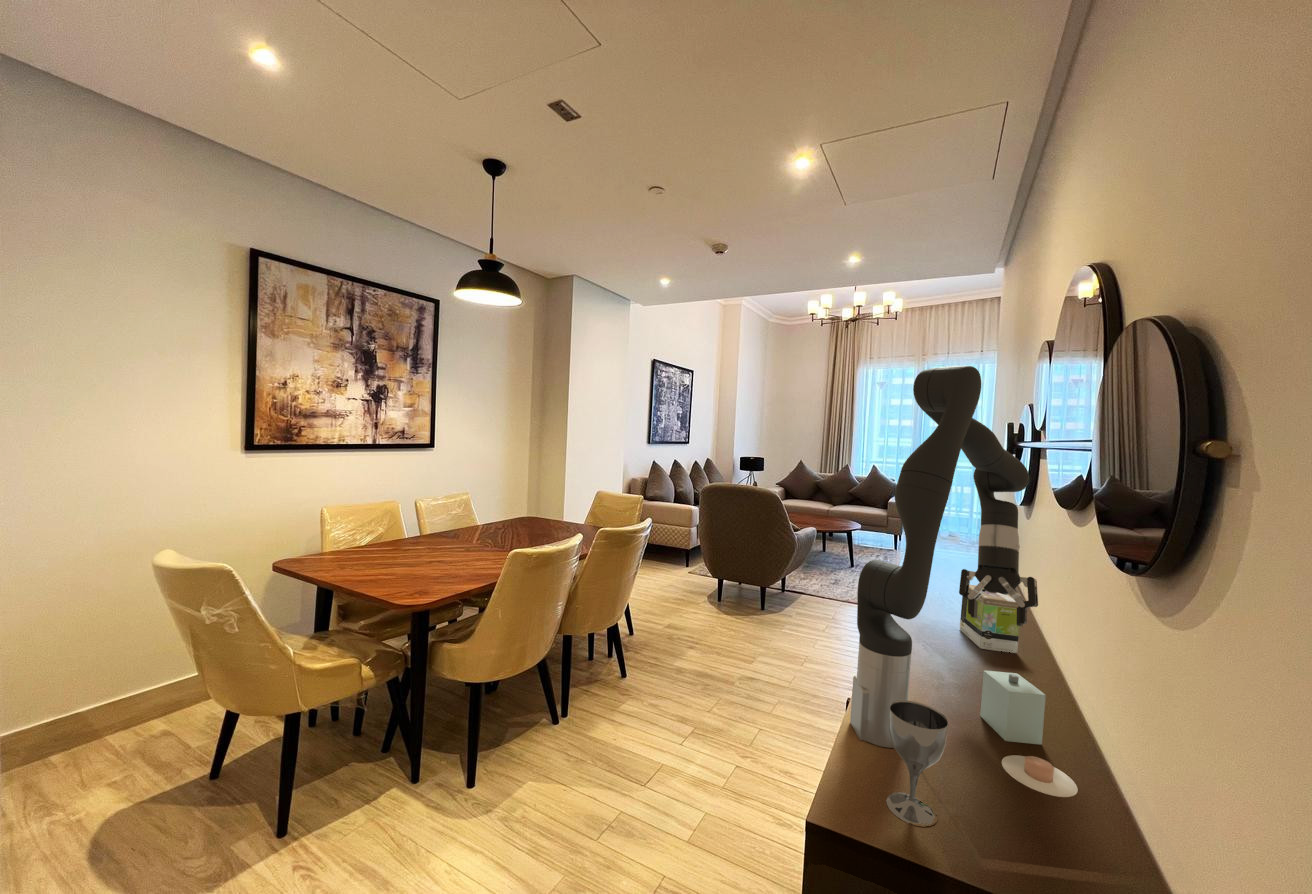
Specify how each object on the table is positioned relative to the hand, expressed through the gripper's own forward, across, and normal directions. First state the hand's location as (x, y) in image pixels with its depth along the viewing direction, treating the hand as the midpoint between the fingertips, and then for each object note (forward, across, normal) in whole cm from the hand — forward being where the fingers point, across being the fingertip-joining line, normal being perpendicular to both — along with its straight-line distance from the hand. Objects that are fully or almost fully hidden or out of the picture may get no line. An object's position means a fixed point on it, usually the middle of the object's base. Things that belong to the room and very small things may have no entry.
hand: (996, 621), depth 109 cm
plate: (+25, +10, -14) cm, 31 cm away
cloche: (+21, +3, -3) cm, 21 cm away
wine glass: (+32, -1, -39) cm, 50 cm away
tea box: (+5, -14, +47) cm, 49 cm away
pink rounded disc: (+25, +10, -15) cm, 30 cm away
